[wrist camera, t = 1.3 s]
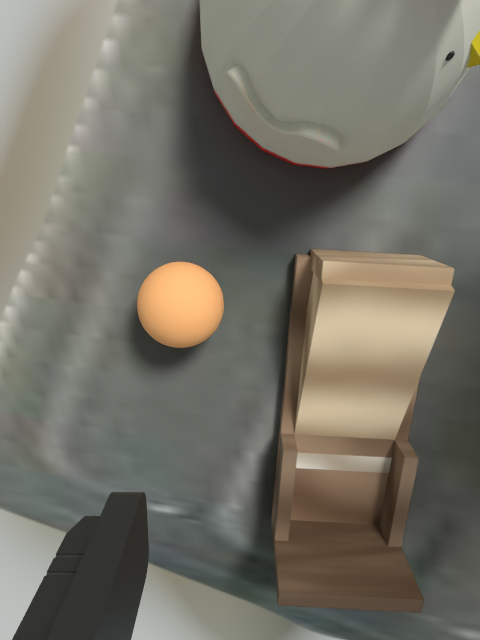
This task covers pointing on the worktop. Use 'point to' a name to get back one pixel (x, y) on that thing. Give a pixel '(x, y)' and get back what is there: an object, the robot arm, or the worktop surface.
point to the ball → (180, 304)
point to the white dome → (336, 71)
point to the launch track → (352, 427)
